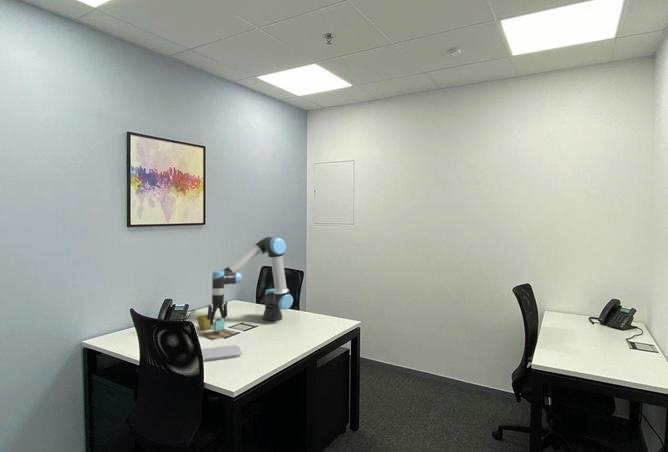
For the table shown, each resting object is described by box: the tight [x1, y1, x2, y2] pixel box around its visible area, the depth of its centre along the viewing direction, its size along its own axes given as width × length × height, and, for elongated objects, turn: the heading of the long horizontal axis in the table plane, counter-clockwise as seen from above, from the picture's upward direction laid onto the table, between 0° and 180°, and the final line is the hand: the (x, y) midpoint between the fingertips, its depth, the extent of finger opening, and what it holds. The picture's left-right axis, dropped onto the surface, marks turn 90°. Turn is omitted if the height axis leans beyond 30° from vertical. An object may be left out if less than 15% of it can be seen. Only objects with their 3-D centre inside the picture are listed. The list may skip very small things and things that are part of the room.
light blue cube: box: [209, 317, 225, 331], centre depth 254 cm, size 6×6×6 cm
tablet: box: [201, 344, 243, 362], centre depth 218 cm, size 16×26×2 cm, turn 115°
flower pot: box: [197, 313, 211, 331], centre depth 266 cm, size 9×9×9 cm
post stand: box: [200, 329, 235, 341], centre depth 254 cm, size 16×14×8 cm
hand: (217, 328), depth 254 cm, fingers closed on light blue cube, 6 cm apart
